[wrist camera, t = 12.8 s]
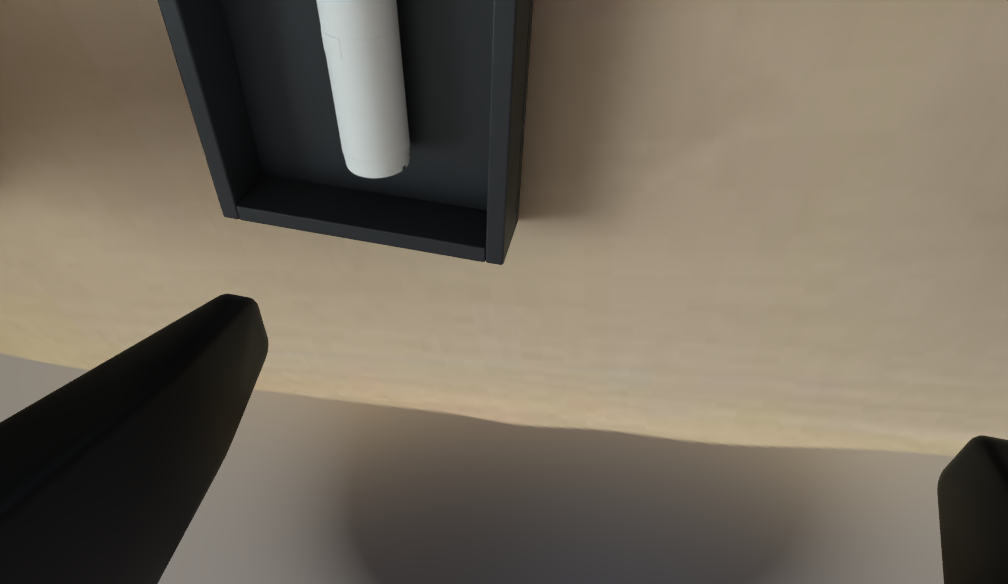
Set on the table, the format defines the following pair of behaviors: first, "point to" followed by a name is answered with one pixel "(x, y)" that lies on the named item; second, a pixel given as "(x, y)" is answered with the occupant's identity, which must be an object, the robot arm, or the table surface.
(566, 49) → the table surface
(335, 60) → the white model rocket
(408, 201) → the pen tray
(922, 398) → the table surface
